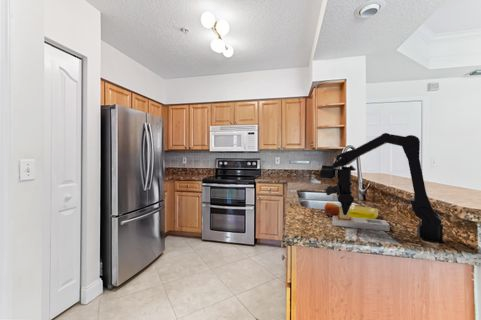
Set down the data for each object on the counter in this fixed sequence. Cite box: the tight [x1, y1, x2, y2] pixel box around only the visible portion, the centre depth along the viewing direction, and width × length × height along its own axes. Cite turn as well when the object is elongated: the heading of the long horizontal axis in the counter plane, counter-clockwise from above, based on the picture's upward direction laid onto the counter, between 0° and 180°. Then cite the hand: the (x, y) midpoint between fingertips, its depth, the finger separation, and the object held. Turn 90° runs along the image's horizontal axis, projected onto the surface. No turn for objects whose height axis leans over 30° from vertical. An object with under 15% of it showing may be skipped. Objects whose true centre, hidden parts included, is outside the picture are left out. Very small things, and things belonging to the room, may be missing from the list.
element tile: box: [349, 205, 379, 220], centre depth 116 cm, size 15×15×5 cm
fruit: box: [323, 202, 340, 218], centre depth 118 cm, size 8×8×8 cm
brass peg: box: [338, 205, 349, 220], centre depth 102 cm, size 4×4×8 cm
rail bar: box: [332, 215, 391, 232], centre depth 100 cm, size 22×8×3 cm, turn 68°
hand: (344, 213), depth 102 cm, fingers open, 5 cm apart
